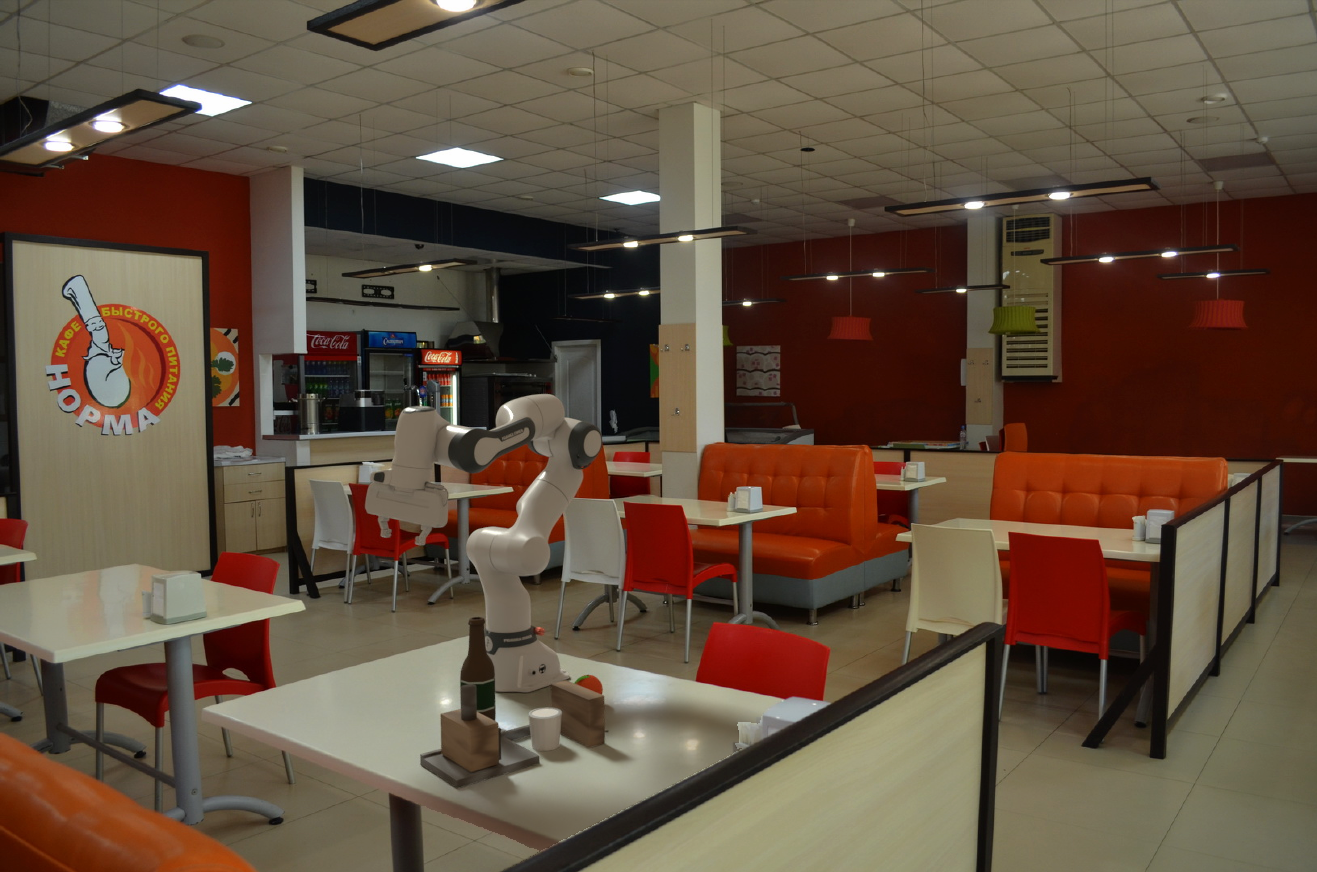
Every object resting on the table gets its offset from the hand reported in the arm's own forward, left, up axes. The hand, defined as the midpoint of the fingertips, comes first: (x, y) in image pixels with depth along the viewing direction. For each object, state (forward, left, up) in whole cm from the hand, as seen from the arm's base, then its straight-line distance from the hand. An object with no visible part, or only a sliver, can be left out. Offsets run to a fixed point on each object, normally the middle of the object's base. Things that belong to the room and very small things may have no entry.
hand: (402, 540), depth 209 cm
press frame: (-8, +33, -40) cm, 53 cm away
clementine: (-36, +18, -41) cm, 57 cm away
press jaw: (+2, +33, -39) cm, 51 cm away
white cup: (-15, +33, -41) cm, 54 cm away
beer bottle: (-10, +14, -41) cm, 44 cm away
